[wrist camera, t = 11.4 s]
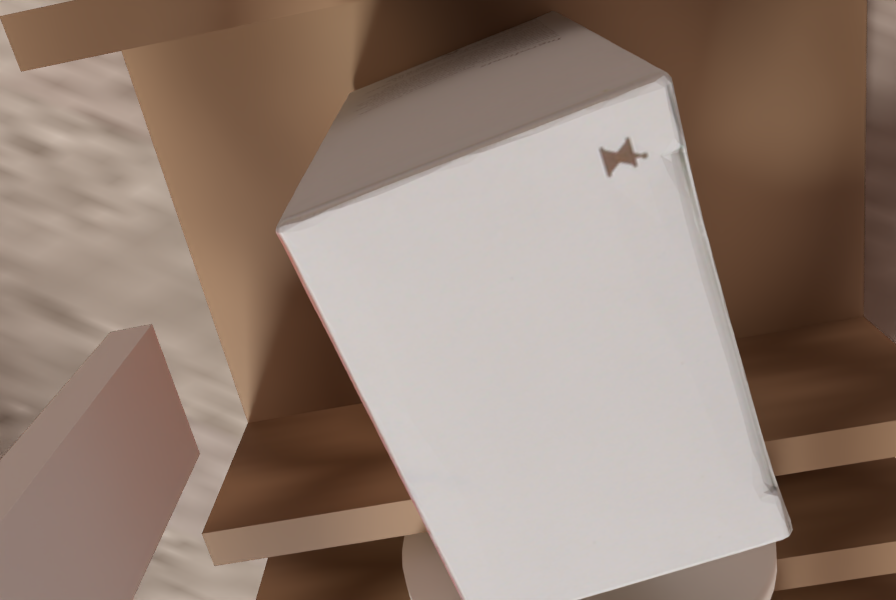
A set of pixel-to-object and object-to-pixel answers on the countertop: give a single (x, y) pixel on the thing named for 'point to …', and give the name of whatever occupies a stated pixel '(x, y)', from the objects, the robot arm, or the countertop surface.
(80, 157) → the countertop surface
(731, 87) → the rack
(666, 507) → the small box
